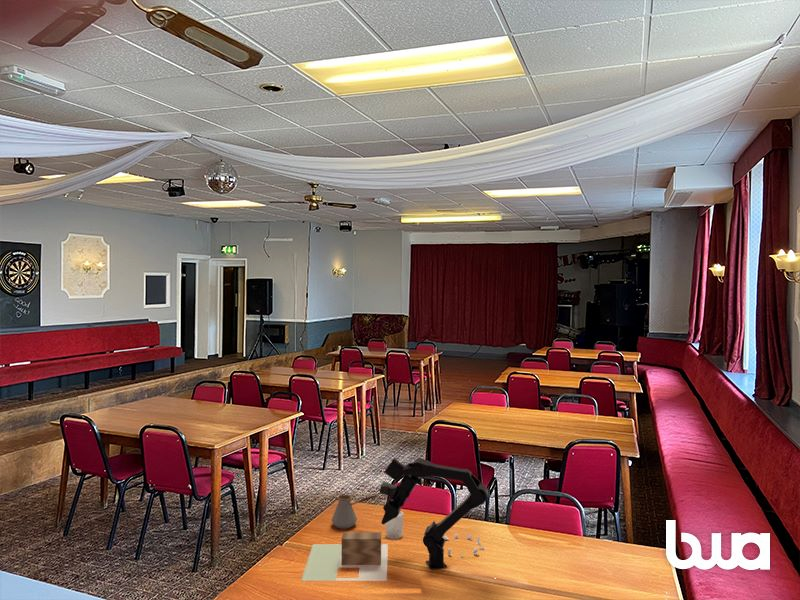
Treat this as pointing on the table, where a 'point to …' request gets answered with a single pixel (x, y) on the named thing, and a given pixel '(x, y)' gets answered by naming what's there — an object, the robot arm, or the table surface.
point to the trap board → (340, 565)
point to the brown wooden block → (361, 548)
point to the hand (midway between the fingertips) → (385, 519)
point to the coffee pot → (346, 512)
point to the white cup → (395, 527)
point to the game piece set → (467, 538)
